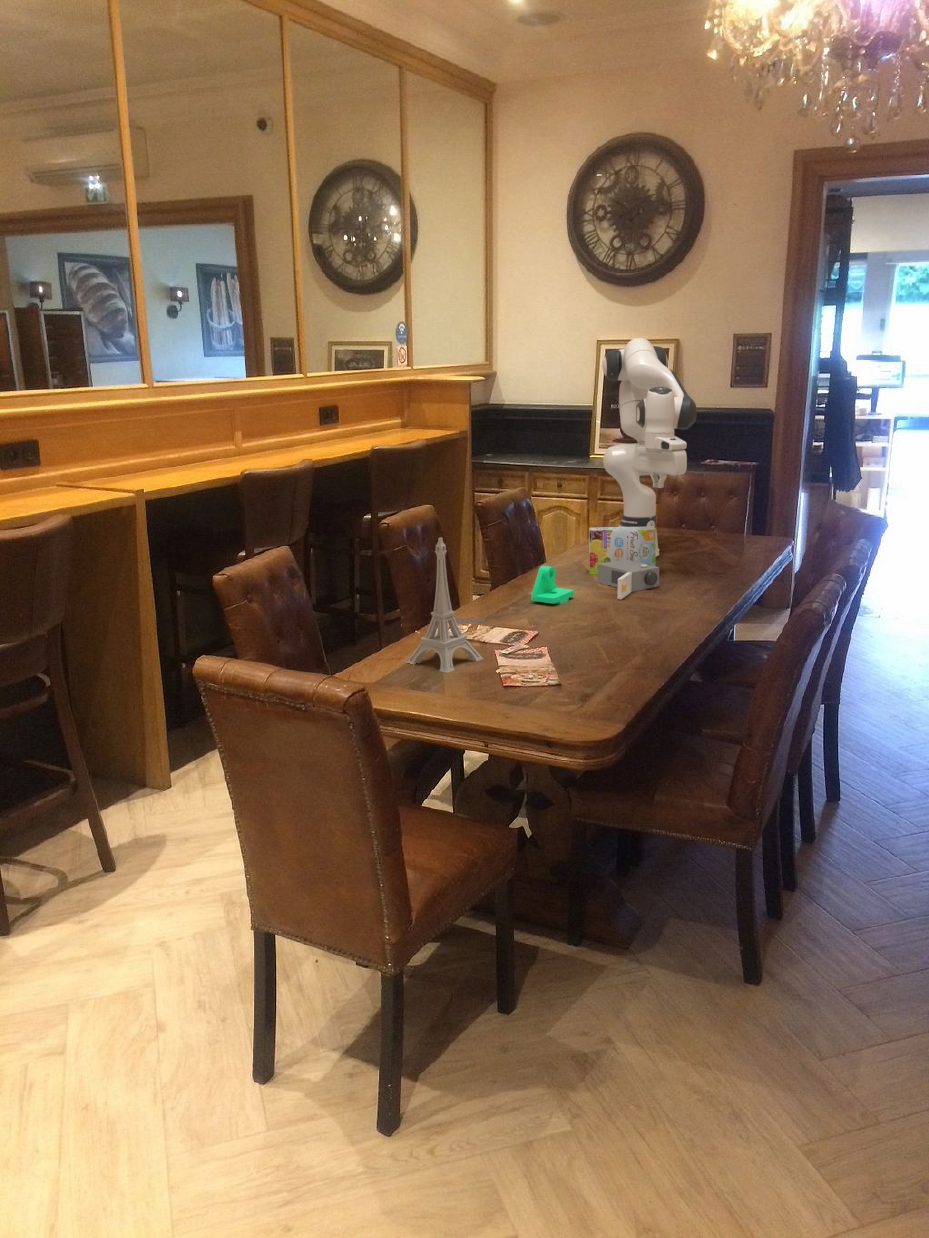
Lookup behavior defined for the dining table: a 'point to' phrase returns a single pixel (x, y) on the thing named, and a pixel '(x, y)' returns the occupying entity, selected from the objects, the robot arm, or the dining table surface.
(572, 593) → the camera mount
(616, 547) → the snack box
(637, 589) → the camera case
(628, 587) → the side door
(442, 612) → the eiffel tower
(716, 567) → the dining table surface
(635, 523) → the robot arm
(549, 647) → the dining table surface
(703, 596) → the dining table surface
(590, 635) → the dining table surface
